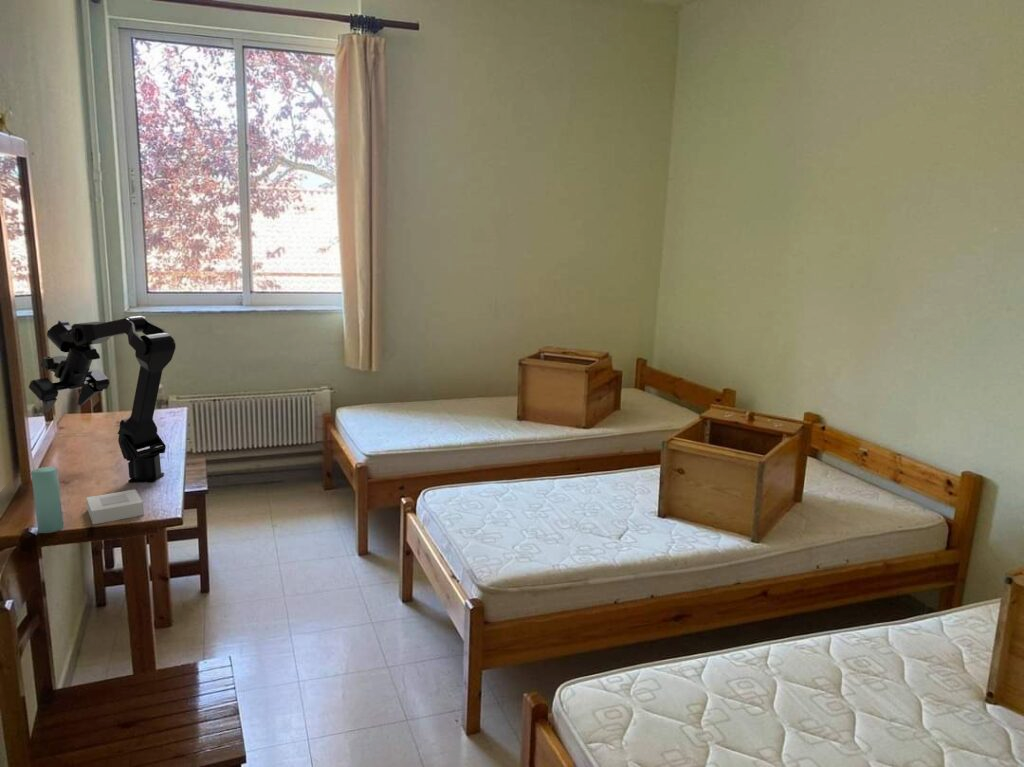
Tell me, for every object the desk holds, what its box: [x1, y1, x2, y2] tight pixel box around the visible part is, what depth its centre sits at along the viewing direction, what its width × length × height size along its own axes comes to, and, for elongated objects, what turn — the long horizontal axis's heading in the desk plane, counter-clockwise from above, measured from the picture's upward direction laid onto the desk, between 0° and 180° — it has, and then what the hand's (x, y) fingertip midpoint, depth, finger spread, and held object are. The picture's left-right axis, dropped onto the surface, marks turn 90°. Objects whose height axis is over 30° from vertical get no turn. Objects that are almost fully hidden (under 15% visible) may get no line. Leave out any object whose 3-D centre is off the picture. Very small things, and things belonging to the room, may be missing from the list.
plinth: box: [85, 489, 145, 525], centre depth 164 cm, size 10×10×3 cm
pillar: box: [30, 466, 64, 534], centre depth 154 cm, size 5×5×13 cm
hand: (63, 408), depth 198 cm, fingers open, 9 cm apart
